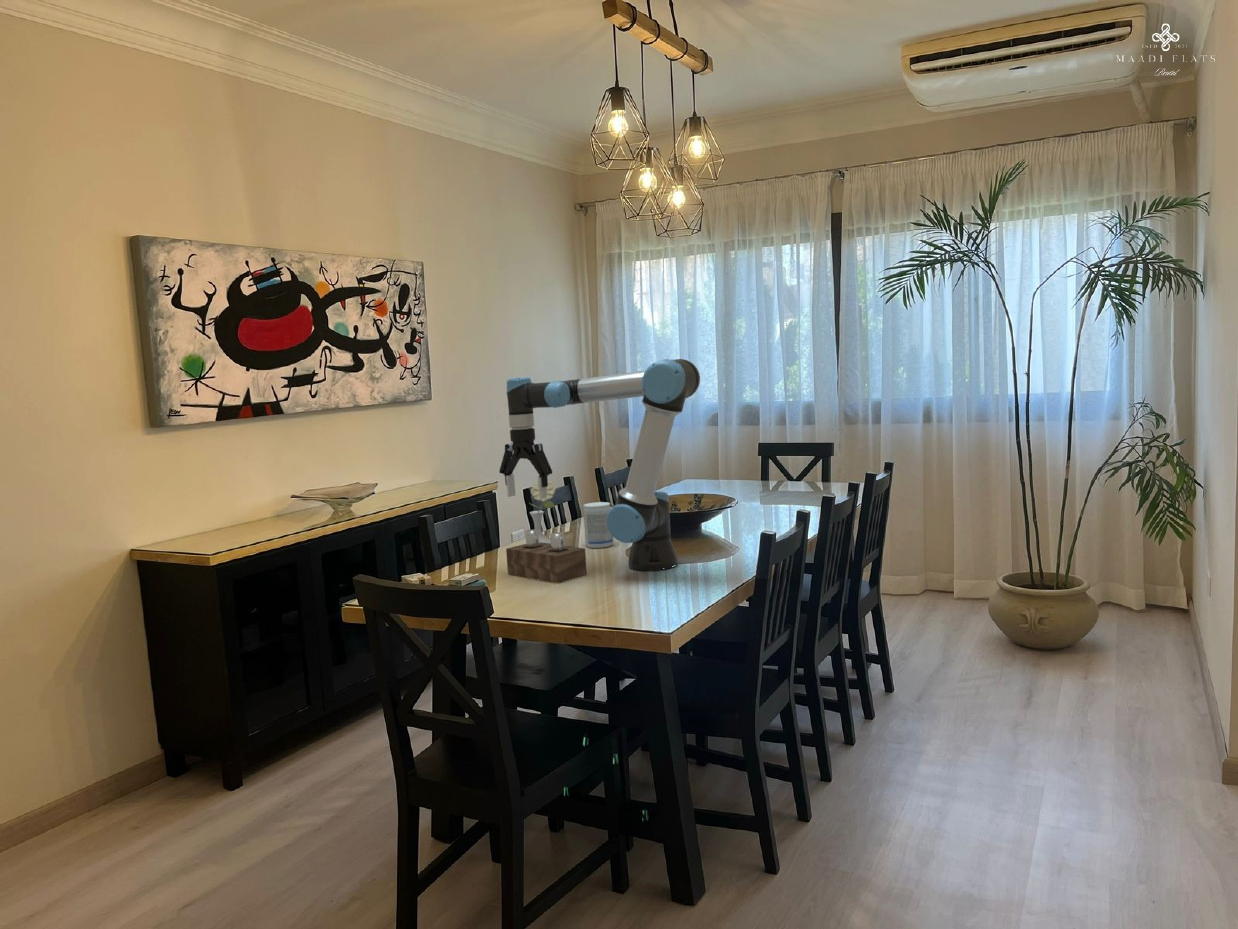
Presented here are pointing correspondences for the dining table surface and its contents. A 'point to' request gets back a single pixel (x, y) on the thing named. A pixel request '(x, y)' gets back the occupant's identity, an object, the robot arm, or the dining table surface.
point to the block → (546, 562)
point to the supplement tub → (597, 525)
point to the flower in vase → (538, 514)
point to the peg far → (532, 539)
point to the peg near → (557, 542)
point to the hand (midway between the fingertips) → (527, 497)
